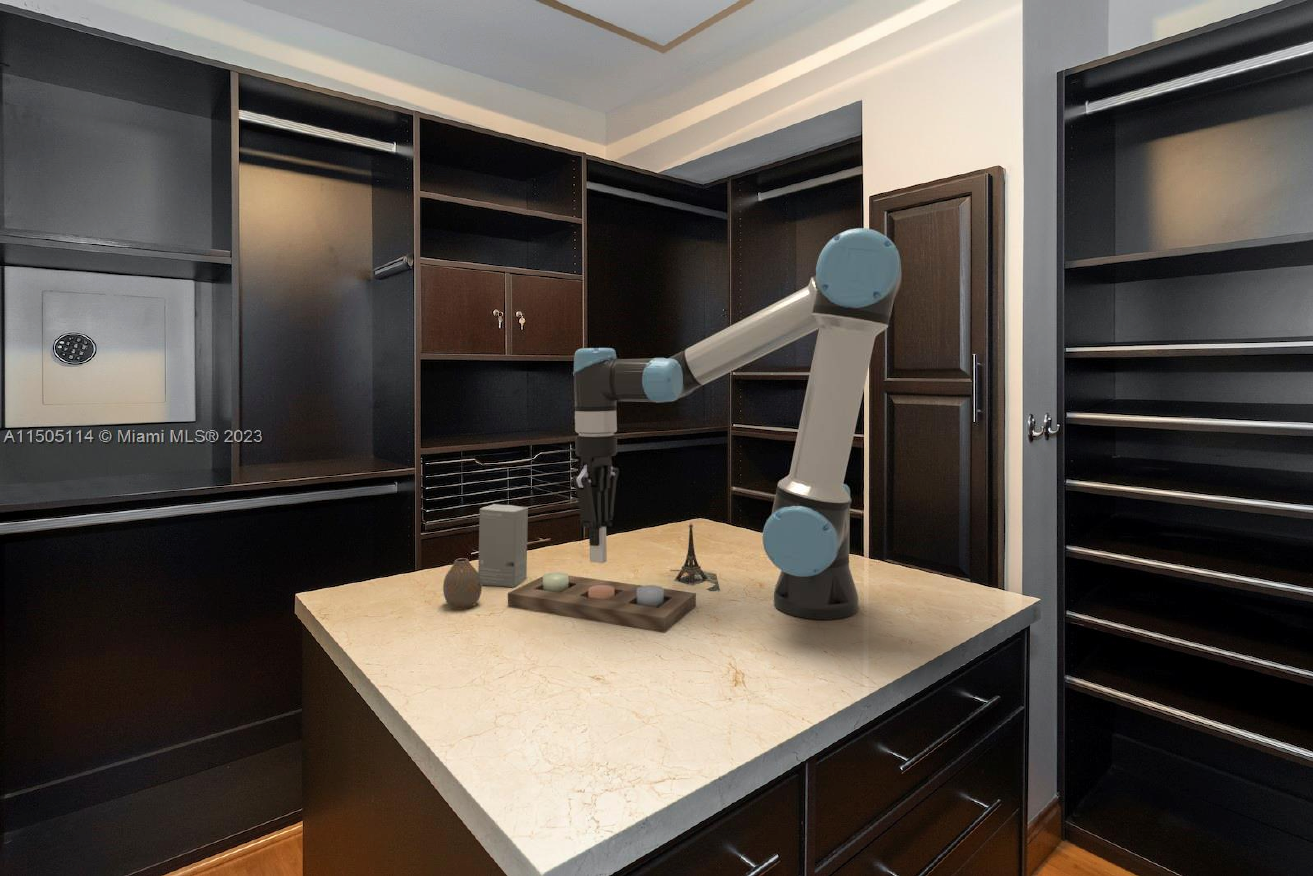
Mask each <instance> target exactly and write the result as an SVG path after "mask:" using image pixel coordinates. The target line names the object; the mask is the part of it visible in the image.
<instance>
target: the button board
mask: <svg viewBox="0 0 1313 876" xmlns="http://www.w3.org/2000/svg"><path fill="white" fill-rule="evenodd" d="M597 585H609V586H612V587H614V597H612V598H610V599H609V600H603V599H597V598H590V597H588V589H589V588H590V587H592V586H597ZM568 586H569V589H567V590H565V591H563V592H561V593H557V592H551V591H544V590H543V576H541V577H539V578H536V579H534V580H532V581H530V582H528V583H526V584H523V585H521V586H520V587H518V588H515V589H513V590H511V591H509V592H507V607H509V608H510V607H511V608H518V609H522V610H528V611H533V612H534V611H535V612H539V613H545V614H553V615H558V616H565V617H571V618H575V619H581V620H582V619H583V620H588V621H593V622H600V623H607V624H613V625H618V626H624V627H631V628H635V629H641V630H642V629H643V630H647V631H654V632H660V633H666V632H667V631H668V630H669V629H670V628H672V627H673V626H674V625H676V624H677V623H679V621H680V620H682V619H683V618H684V617H685V616H686V615H687V614H688V613H690V612H691V611H693V609H695V608H696V607H697V592H691V591H684V590H677V589H671V588H663V587H662V588H663V594H664V604H663V605H661V606H660V607H659V608H656V607H650V606H643V605H637V588H638V587H641V586H643V585H641V584H633V583H625V582H619V581H612V580H605V579H603V580H602V579H599V578H597V579H596V578H591V577H583V576H577V575H569V574H568Z"/></svg>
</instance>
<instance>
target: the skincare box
mask: <svg viewBox="0 0 1313 876" xmlns="http://www.w3.org/2000/svg"><path fill="white" fill-rule="evenodd" d="M528 514H529V507H528V506H518V505H513V504H497V503H492V504H490V505H487V506H483V507H481V508H479V522H478V523H479V524H478V525H479V527H478V529H479V530H478V568H477V569H478V571H477V572H478V574H479V576H480V579H481V583H482V586H494V587H510V588H515V587H516V586H518V585H520V584H521V583H523V582H524V581H525V580H527V569H528V519H529V518H528V517H529V516H528Z"/></svg>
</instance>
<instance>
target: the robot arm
mask: <svg viewBox="0 0 1313 876" xmlns="http://www.w3.org/2000/svg"><path fill="white" fill-rule="evenodd" d="M816 262H817V263H816V267H815V273H816V275H814V276H812V277H811V278H810V280H809V283H808V285H807V286H806V287H804V288H802V289H799V290H798V291H796V292H794V293H792V294H790V295H788V296H786V297H784V298H783V299H780V300H778V301H777V302H775V303H773V304H771V305H768V306H767V307H765V308H763V309H760V310H759V311H757V312H756V313H754V314H751V315H750V316H747V317H745V318H744V319H742V320H740V321H738V322H736V323H733V324H732V325H730V326H728V327H726V328H724V329H722V330H721V331H718V332H716V333H714V334H713V335H711V336H709V337H707V338H705V339H703V340H701V341H699V342H697V343H695V344H693V345H692V346H689V347H687V348H686V349H684V350H682V351H680V352H678V353H676V354H674V355H671V356H670V357H669V358H665V357H654V358H629V359H628V358H625V359H623V358H617V354H616V350H615V349H614V348H611V347H595V348H594V347H589V348H588V347H586V348H585V347H584V348H583V347H582V348H579V349H577V350H576V351H575V352H574V359H573V360H574V361H573V372H572V375H573V387H574V390H573V391H574V411H575V412H574V424H575V425H574V430H575V432H576V433H577V434H578V435H576V436H575V437H574V439H575V441H574V444H575V445H574V447H575V448H574V449H575V450H574V451H575V455H576V456H577V457H580V458H581V463H580V469H579V470H580V473H579V475H574V476H573V477H572V483H573V485H574V487H575V491H576V497H577V504H578V511H579V517H580V523H581V526H582V527H583V528H588V533H589V534H588V535H589V536H588V538H589V539H588V540H589V541H588V543H589V562H590V563H597V564H604V563H606V562H607V561H608V560H607V555H608V554H607V553H608V552H607V551H608V550H607V527H611V526H612V524H613V522H612V520H613V518H614V510H615V502H616V501H615V499H616V491H617V480H618V477H619V472H620V470H619V468H618V467H613V462H612V457H614V456H616V455H617V453H618V439H617V438H618V437H617V436H616V434H615V433H616V432H617V431H618V427H617V425H618V423H617V420H618V419H617V402H642V403H643V402H645V403H646V402H648V403H649V402H650V403H656V404H659V403H668V402H674V401H677V400H678V399H682V398H684V397H686V396H689V395H690V394H691V393H693V391H694V390H696V389H699V388H701V387H702V386H703V385H706V384H708V383H710V382H712V381H714V380H716V379H718V378H721V377H722V376H724V375H726V374H728V373H730V372H732V371H734V370H736V369H739V368H740V367H741V368H742V367H743V366H744V365H747V364H749V363H751V362H753V361H755V360H757V359H760V358H762V357H763V356H767V355H768V354H770V353H771V352H774V351H776V350H778V349H780V348H782V347H784V346H786V345H788V344H790V343H792V342H795V341H796V340H799V339H800V338H803V337H805V336H807V335H809V334H811V333H813V332H815V331H817V330H818V333H817V337H816V343H815V347H814V351H813V358H812V361H811V366H810V372H809V376H808V381H807V386H806V391H805V397H804V401H803V406H802V411H801V416H800V420H799V425H798V430H797V435H796V440H795V445H794V450H793V455H792V460H791V463H790V464H791V465H790V470H789V474H788V475H787V476H785V477H784V478H782V479H780V480H779V481H778V483H777V485H776V486H777V487H776V489H775V490H776V491H775V495H774V501H773V505H772V508H771V509H772V510H771V515H769V517H768V518H767V519H766V522H765V524H764V527H763V530H762V546H763V549H764V552H765V554H766V556H767V557H768V559H769V560H770V562H771V563H772V564H773V565H774V566H775V567H776V568H777V569H778V570H780V573H779V576H778V579H777V581H776V584H775V587H774V591H773V605H774V607H775V608H776V609H778V610H779V611H780V612H781V613H785V614H787V615H790V616H793V617H798V618H801V619H802V618H804V619H812V620H836V619H843V618H847V617H851V616H852V615H855V614H856V613H857V612H858V611H859V594H858V591H857V588H856V584H855V582H854V578H853V575H852V572H851V569H850V530H851V529H850V523H851V522H850V520H851V519H850V518H851V517H850V516H851V515H850V514H851V512H850V511H851V510H850V509H851V503H852V498H851V489H850V487H849V486H848V485H847V484H846V483H844V481H845V477H846V474H847V473H846V472H847V467H848V463H849V459H850V455H851V451H852V446H853V440H854V436H855V432H856V426H857V422H858V417H859V413H860V408H861V404H862V399H863V396H864V395H863V394H864V390H865V385H866V381H867V376H868V373H869V371H868V370H869V367H870V363H871V359H872V353H873V348H874V345H875V344H874V343H875V340H876V337H877V336H878V335H879V334H881V333H882V332H883V331H885V330H886V329H888V327H889V325H890V320H891V315H892V310H893V305H894V301H895V297H896V295H898V292H899V290H900V288H901V284H902V280H903V269H902V264H901V263H902V262H901V256H900V253H899V250H898V248H897V247H896V245H895V243H894V242H893V241H892V240H891V239H890V238H889V237H888V236H887V235H885V234H883V233H881V232H879V231H877V230H875V229H870V228H864V227H861V228H860V227H857V228H850V229H847V230H845V231H842V232H840V233H838V234H837V235H834V237H833V238H831V239H829V241H828V242H827V243H826V244H825V246H823V248H822V250H821V252H820V254H819V256H818V259H817V261H816Z"/></svg>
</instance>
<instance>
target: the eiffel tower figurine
mask: <svg viewBox="0 0 1313 876" xmlns="http://www.w3.org/2000/svg"><path fill="white" fill-rule="evenodd" d="M693 525H694V524H692V523H690V524H689V525H688V526H689V527H688V528H689V534H688V548H687V554H686V556H685V557H686V559H685V561H684V564H683V566H681V569H670V572H679V573H678V574H677V576H676V577H675V578H674V579H673V581H674V582H678V583H680V584H681V583H682V584H685V585H687V586H692V587H693V586H696V585H699V584H702V583H705V582H706V583H707V582H708V583H711V584H714V585H712V586H711V587H708V588H706V590H707V591H709V592H721V589H720V585H719V581H718V580H719V579H718V576H717V574H716V573H713V572H709V571H705V570H702V569H701V568H702V567H701V565H699V562H698V560H697V555H696V553H695V547H694V546H695V545H694V536H693V527H694V526H693ZM684 574H686V575H685V576H683V575H684Z"/></svg>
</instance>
